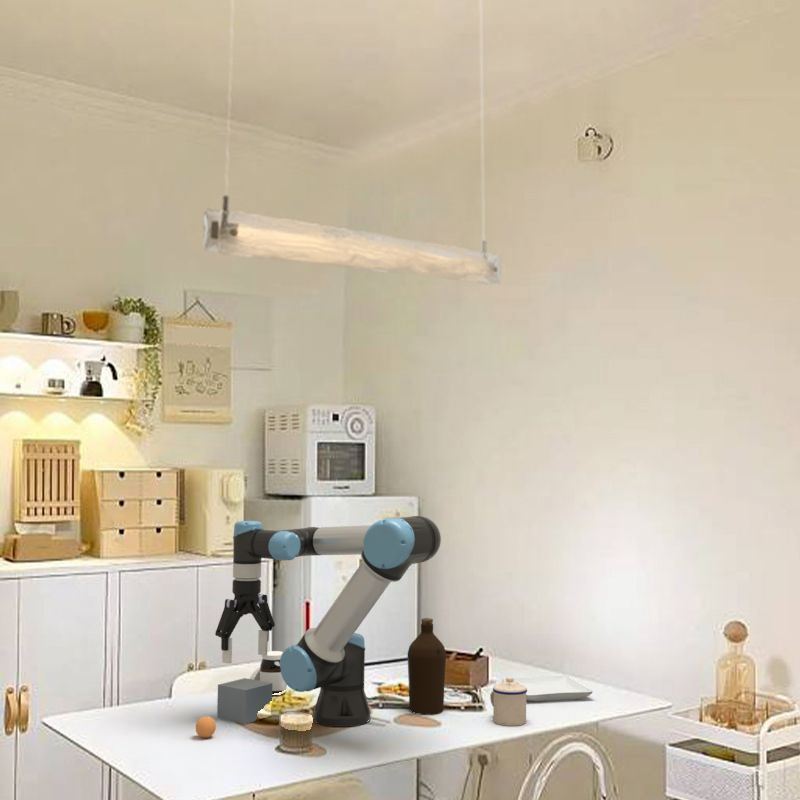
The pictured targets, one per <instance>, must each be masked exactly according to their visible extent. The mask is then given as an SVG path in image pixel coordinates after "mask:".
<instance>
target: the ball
mask: <svg viewBox="0 0 800 800" xmlns="http://www.w3.org/2000/svg"><path fill="white" fill-rule="evenodd" d="M216 730H217V724H216V721H215V720H214V719H213V718H212V717H210V716H203V717H201V718H199V719H198V720H197V721H196V724H195V732H196V734H197V735H198V736H199V737H200V738H204V739H206V738H210V737H212V736H213V735H214V733H215V732H216Z"/></svg>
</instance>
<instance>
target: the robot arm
mask: <svg viewBox="0 0 800 800" xmlns="http://www.w3.org/2000/svg"><path fill="white" fill-rule="evenodd" d="M441 537H442V536H441V532H440V529H439V527H438V526H437V525H436V523H435V522H434V521H433V520H431V519H430V518H428V517H425V516H422V515H420V516H419V515H413V516H405V517H404V516H403V517H392V516H391V517H387V518H384V519H381V520H378V521H375V522H374V523H373V524H371V525H347V526H324V527H323V526H321V527H318V526H317V527H315V526H309V527H308V526H307V527H304V528H303V527H301V528H293V529H281V530H274V529H273V530H269V529H263V523H262V522H261V521H259V520H239V521H236V522H235V524H234V527H233V537H232V539H233V546H232V547H233V551H232V552H233V553H232V554H233V561H232V578H234V579H233V580H232V587H231V588H232V591H231V592H232V593H233V594H234V598H233V599H229V598H226V599H225V601H224V607H223V611H222V614H221V615H220V619H219V621H218V625H217V628H216V630H215V632H214V635H215V636H216V637H219V638H221V640H220V641H221V643H220V645H221V646H220V648H221V651H222V655H221V659H222V660H221V662H222V663H224V664H229V665H230V664H232V663H233V660H232V659H233V657H232V656H233V638H232V637H231V635H233V632H234V630H235V628H236V627H237V624H238V623H239V621H240V619H241V618H243V616H246V615H249V614H251V615H252V617H253V619H254V620H255V622H256V623H257V625H258V627H259V628H260V629H259V630H258V642H257V643H258V645H257V647H258V648H257V655H259V656H262V655H265V656H266V655H267V652H268V642H269V638H270V637H269V636H270V633H269V632H270V631H271V632H272V630H273V628H274V627H275V625H276V624H275V621H274V618H273V615H272V612H271V609H270V606H269V603H268V595H267V594H262V593H261V592H262V591H261V589H262V580H261V579H260V578H262V559H268V560H278V561H279V562H282V561H293V560H294V559H295V558H299V557H306V556H307V557H309V556H339V555H341V556H343V555H345V556H347V555H351V556H352V555H355V556H356V555H358V556H359V555H360V558H361V561H362V562H360V564H359V566H358V567H357V569H356V570H355V572H354V573H353V574H352V576H351V577H350V579H349V581H348V582H347V583H346V584H345V586H344V588H343V589H342V590H341V591H340V592H339V594H338V596H337V597H336V598H335V600H334V602H333V603H332V604H331V606H330V608H329V609H328V610H327V612H326V613H325V615H323V617H322V619H321V620H320V622H318V625H316V627H311V628H309V629H307V630H306V631H305V633H304V634H303V635H302V637H301V638H300V640H299V641H298V643H297V644H296V645H295V644H294V645H293V644H292V645H290V646H288V647H287V648H285V650H283V651H282V652H283V653H282V655H281V658H280V668H281V675H282V677H283V679H284V681H285V683H286V684H287V687H289V688H290V689H291V690H293V691H295V692H299V693H302V692H303V693H304V692H311V691H313V690H316V689H319V688H320V690H319V694H318V696H317V700H316V703H315V707H314V708H313V709H314V710H313V717H314V720H315V721H314V720H313V721H314V722H315V723H317V724H319V725H322V726H328V727H330V726H331V727H356V726H360V725H361V726H362V725H364V724H366V722H367V721H368V720H369V719H370V720H371V709H370V706H369V703H368V698H367V695H366V692H365V691H366V690H365V665H366V664H365V662H366V661H365V657H366V652H365V651H366V647H365V637H364V636H363V635H362V634H360V633H358V632H357V633H356V631H357V630H358V628H359V627H360V626H361V624H362V622H363V621H365V619H366V617H367V616H368V614H369V613H371V610H372V609H373V608H374V606H375V605H376V603H377V602H378V601H379V599H380V598H381V596H382V595H383V594H384V592H385V591H386V590H387V588H388V587H389V586H390V584H391V583H393V582H398V581H400V580H401V579H402V578H403V577H404V575H405V573H407V571H408V569H409V568H410V567H411V566H412V565H415V564H420V563H425V562H428V561H429V560H430V559H432V558H434V557H435V555H436V554H437V552H438V551H439V549H440V547H441V543H442V542H441V541H442V538H441ZM367 723H368V722H367Z"/></svg>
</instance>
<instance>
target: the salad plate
mask: <svg viewBox="0 0 800 800" xmlns="http://www.w3.org/2000/svg"><path fill="white" fill-rule="evenodd" d="M513 678H514V677H513ZM501 681H502V682H503V681H506V678H503V679H502V680H501ZM514 681H515V682H517V683H519V684H520V685H523V686H525V687H526V688H527V692H526V701H528V702H552V701H571V700H579V699H584V698H586V697H589V696H590V695H592V694H593V692H594V691H593V689H590V688H589V687H587V686H585V685H584V684H583V683H580V682H579V681H577V680H575V679H573V678H571V677H570V676H569V675H567V674H566V675H548V676H547V675H544V676H543V675H542V676H529V677H518V678H517V677H516V678H514Z"/></svg>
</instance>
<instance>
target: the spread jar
mask: <svg viewBox="0 0 800 800" xmlns="http://www.w3.org/2000/svg"><path fill="white" fill-rule="evenodd" d="M283 652H284V651H280V650H270V651H269V650H267V655H266V656H265V655H261V662H260V666H258V667H257V668H256V669H255V670H253V672H252V673H251V675H250V678H249V679H252V680H257V681H263V682H268V683H272V694H274V693H279V692H282V691H284V690H286V691H287V687H288V685H287V684H286V683H285V681H284V679H283V677H282V675H281V668H280V658H281V655H282V653H283Z"/></svg>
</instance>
